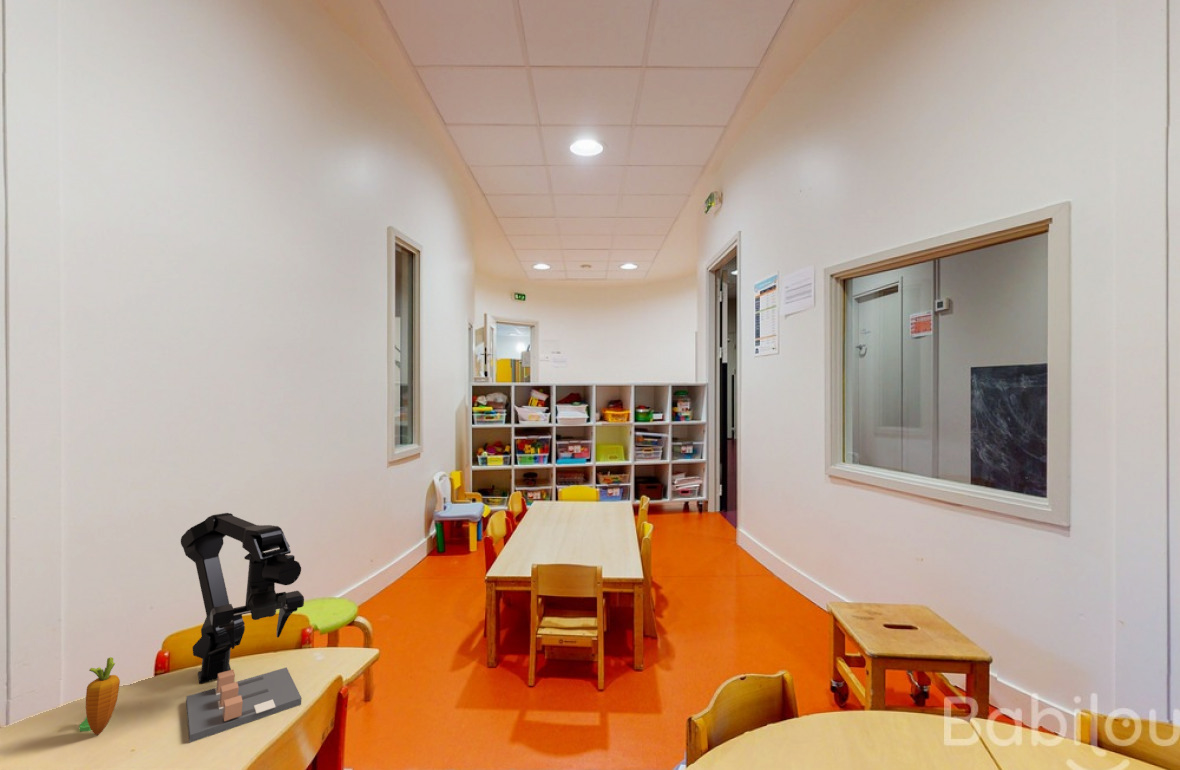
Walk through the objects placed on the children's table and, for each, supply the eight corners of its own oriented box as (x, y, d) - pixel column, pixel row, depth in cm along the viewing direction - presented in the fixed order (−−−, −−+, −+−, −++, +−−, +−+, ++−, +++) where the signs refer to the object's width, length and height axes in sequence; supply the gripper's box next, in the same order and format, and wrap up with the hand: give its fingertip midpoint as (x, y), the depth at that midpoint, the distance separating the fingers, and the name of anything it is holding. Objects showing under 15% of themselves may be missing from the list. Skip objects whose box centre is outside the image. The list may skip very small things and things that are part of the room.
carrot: (91, 745, 93) (100, 668, 94) (73, 740, 94) (82, 664, 95) (121, 729, 98) (129, 656, 99) (103, 725, 99) (111, 653, 100)
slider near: (222, 714, 101) (224, 700, 101) (239, 709, 103) (240, 695, 103) (224, 721, 99) (225, 706, 99) (241, 715, 101) (242, 701, 101)
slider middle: (219, 699, 106) (220, 686, 106) (235, 694, 108) (237, 681, 108) (220, 705, 104) (222, 692, 104) (237, 700, 106) (238, 687, 106)
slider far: (216, 686, 111) (217, 673, 111) (232, 681, 113) (233, 669, 113) (217, 692, 109) (219, 678, 109) (233, 687, 111) (234, 674, 111)
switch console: (185, 702, 108) (186, 695, 108) (286, 673, 121) (286, 666, 121) (189, 743, 95) (190, 735, 95) (301, 705, 108) (301, 697, 108)
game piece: (103, 727, 98) (106, 698, 99) (74, 734, 96) (78, 704, 97) (110, 716, 102) (114, 688, 103) (83, 722, 100) (86, 693, 100)
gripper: (218, 597, 104) (211, 668, 103) (311, 579, 117) (306, 642, 116) (213, 583, 112) (206, 649, 111) (301, 568, 125) (296, 627, 124)
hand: (256, 642), depth 115 cm, fingers open, 9 cm apart
